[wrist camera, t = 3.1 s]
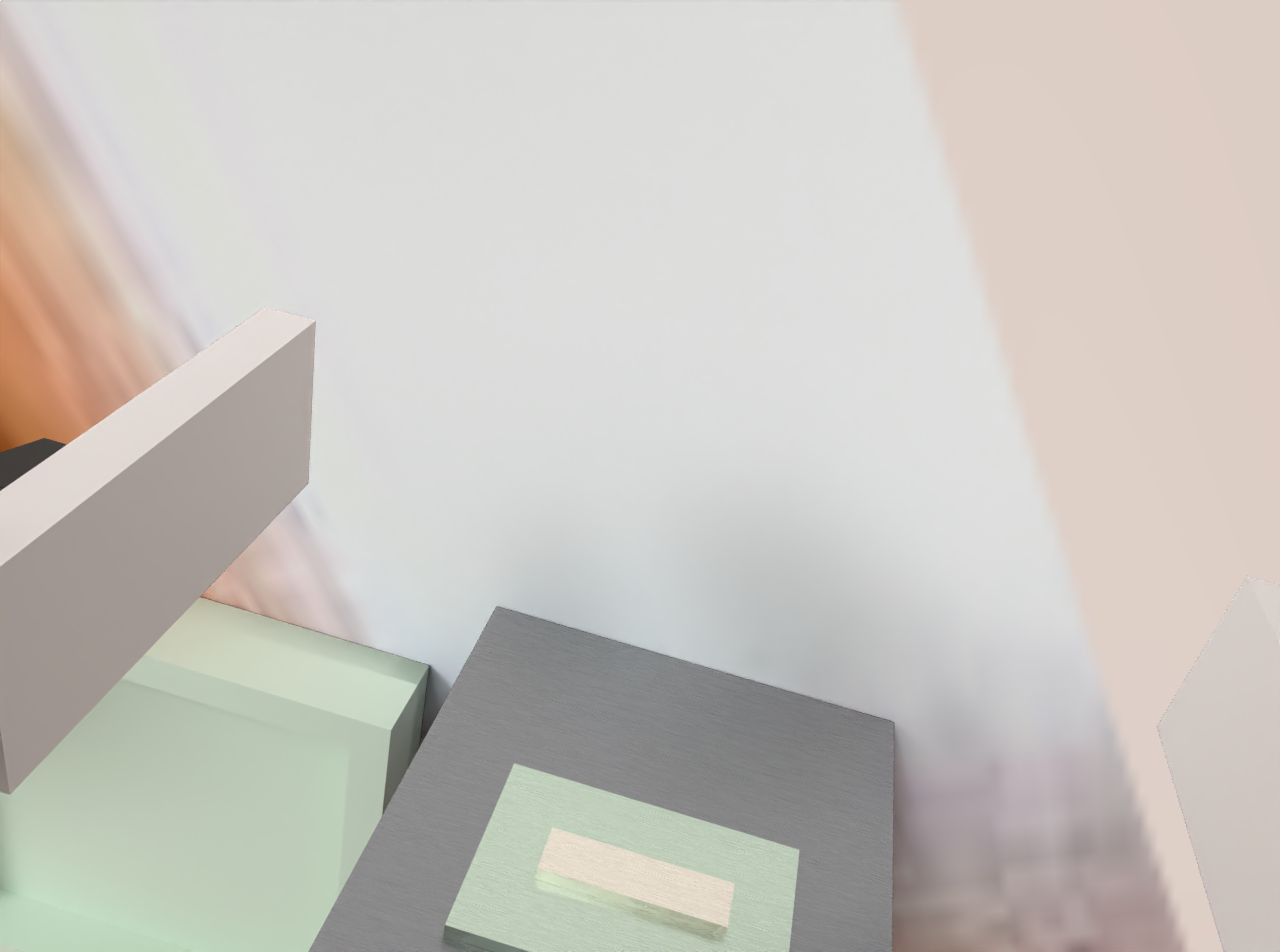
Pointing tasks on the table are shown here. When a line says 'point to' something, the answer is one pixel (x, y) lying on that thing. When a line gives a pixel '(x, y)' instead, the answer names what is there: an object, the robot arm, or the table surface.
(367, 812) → the tray
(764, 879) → the unit
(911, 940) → the table surface
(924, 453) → the table surface
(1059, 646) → the table surface
